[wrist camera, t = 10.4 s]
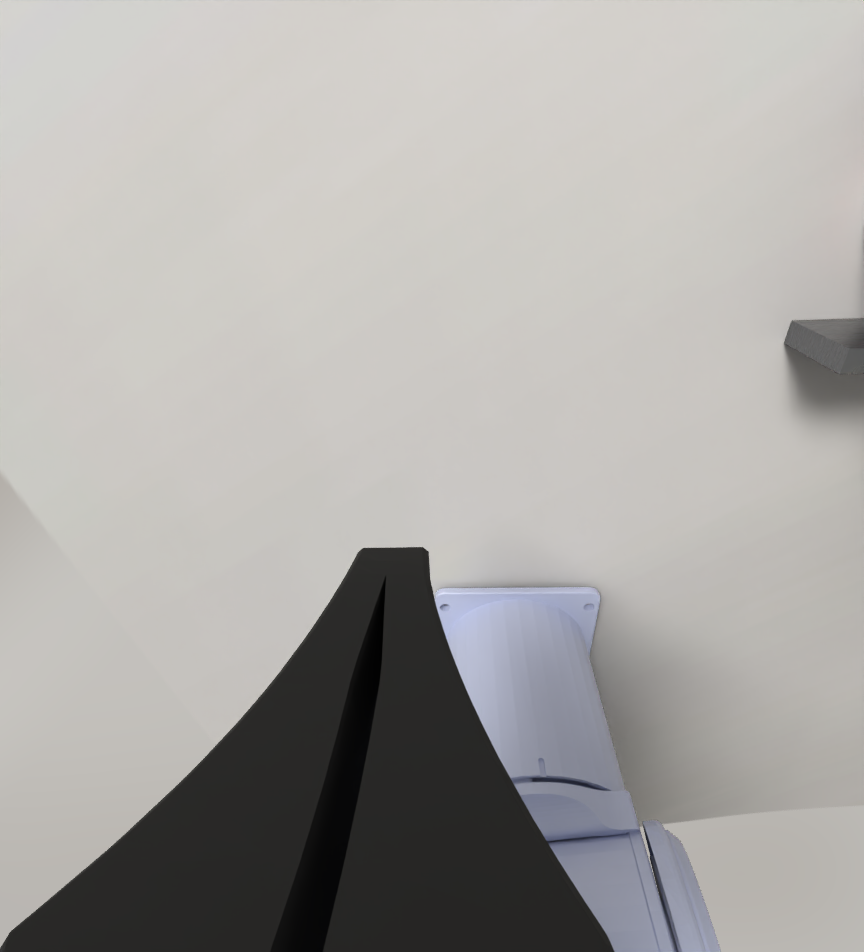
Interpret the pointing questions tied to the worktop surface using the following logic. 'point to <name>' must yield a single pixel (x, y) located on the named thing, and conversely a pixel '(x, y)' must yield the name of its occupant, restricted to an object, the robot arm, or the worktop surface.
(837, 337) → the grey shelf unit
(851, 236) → the worktop surface
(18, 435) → the worktop surface
